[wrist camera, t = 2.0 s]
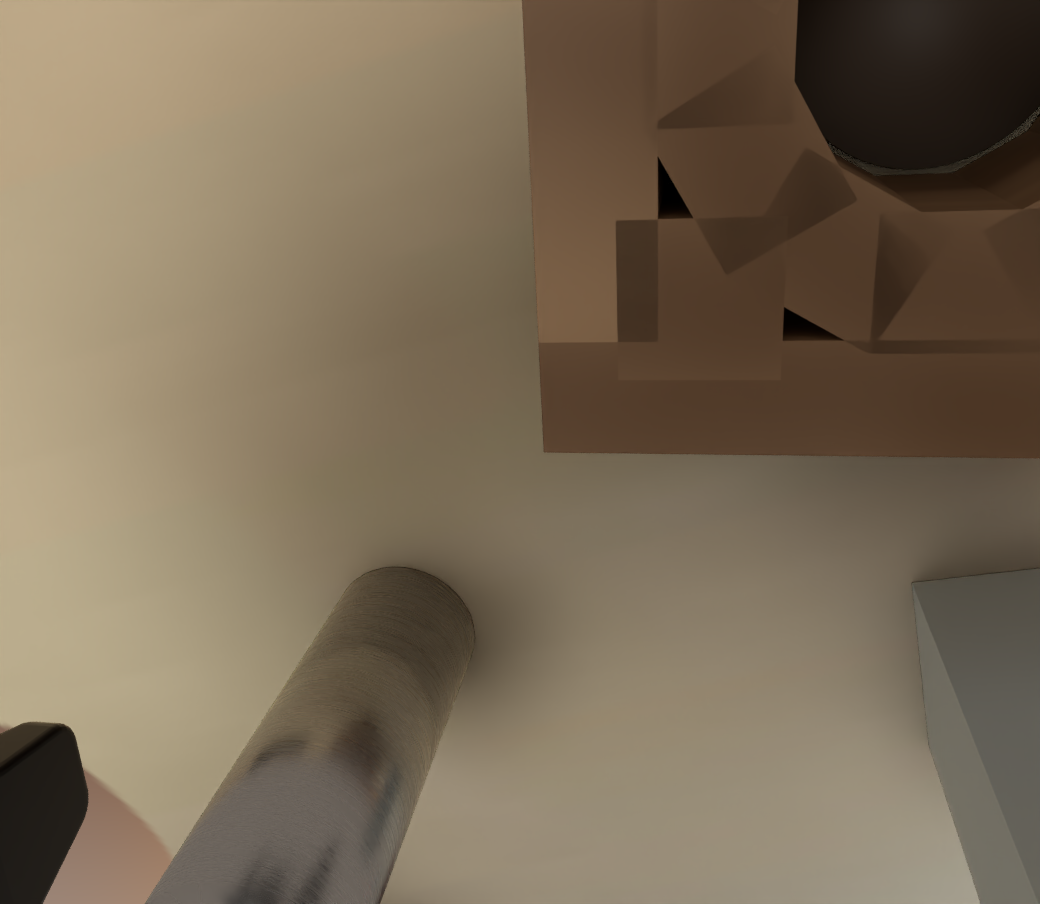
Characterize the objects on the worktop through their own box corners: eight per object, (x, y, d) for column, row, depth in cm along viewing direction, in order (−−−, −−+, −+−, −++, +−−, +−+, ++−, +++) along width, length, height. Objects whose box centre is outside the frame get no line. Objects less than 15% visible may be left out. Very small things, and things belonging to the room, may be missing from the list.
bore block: (1255, 374, 17) (1402, 462, 14) (572, 374, 20) (543, 452, 16) (1459, -508, 13) (1757, -722, 9) (545, -387, 15) (497, -524, 11)
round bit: (479, 693, 23) (355, 1061, 15) (345, 686, 23) (153, 1037, 15) (469, 569, 22) (328, 894, 13) (328, 564, 22) (110, 873, 14)
